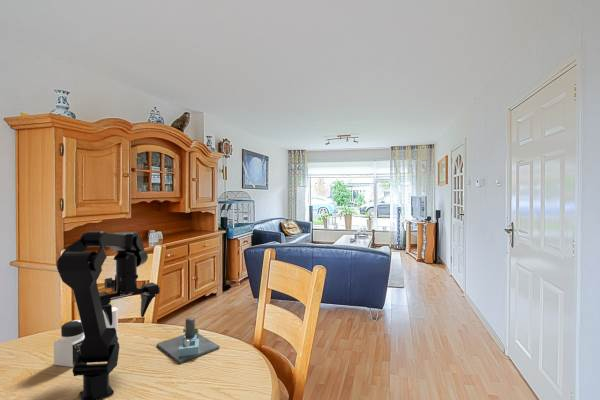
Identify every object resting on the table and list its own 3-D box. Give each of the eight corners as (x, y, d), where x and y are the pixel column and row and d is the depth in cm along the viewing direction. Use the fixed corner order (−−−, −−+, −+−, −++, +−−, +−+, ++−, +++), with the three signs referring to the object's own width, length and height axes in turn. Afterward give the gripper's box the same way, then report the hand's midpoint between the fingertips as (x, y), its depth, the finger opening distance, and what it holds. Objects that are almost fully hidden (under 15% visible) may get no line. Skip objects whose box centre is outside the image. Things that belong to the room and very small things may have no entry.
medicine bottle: (73, 367, 97) (72, 327, 97) (53, 365, 99) (53, 326, 99) (92, 356, 104) (92, 319, 104) (74, 353, 106) (73, 317, 106)
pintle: (190, 354, 105) (190, 340, 105) (186, 355, 104) (185, 341, 104) (188, 352, 106) (188, 338, 106) (183, 354, 105) (183, 340, 105)
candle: (93, 341, 115) (92, 299, 115) (110, 334, 121) (110, 294, 120) (104, 344, 112) (104, 301, 112) (122, 337, 118) (121, 296, 118)
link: (198, 354, 104) (198, 328, 104) (178, 356, 102) (178, 330, 102) (200, 335, 117) (199, 312, 117) (182, 337, 116) (182, 314, 116)
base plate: (219, 348, 110) (219, 333, 109) (179, 363, 99) (179, 348, 99) (194, 333, 121) (194, 320, 121) (156, 346, 111) (156, 332, 111)
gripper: (147, 263, 114) (147, 307, 115) (85, 272, 101) (85, 322, 101) (160, 268, 107) (160, 315, 107) (95, 279, 93) (95, 332, 93)
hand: (127, 320), depth 102 cm, fingers open, 9 cm apart
